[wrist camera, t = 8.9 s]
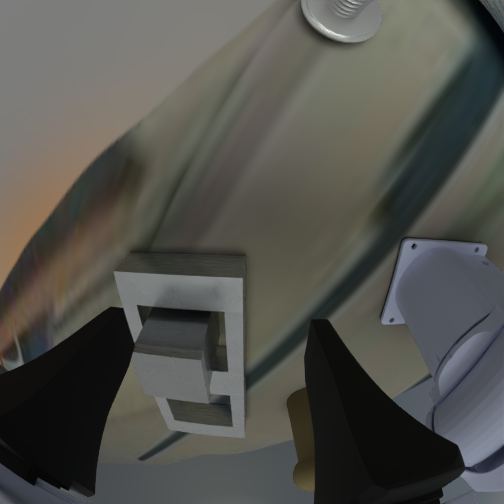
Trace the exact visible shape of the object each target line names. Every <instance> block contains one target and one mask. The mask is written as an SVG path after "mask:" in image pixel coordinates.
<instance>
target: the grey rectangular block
mask: <svg viewBox="0 0 504 504" xmlns="http://www.w3.org/2000/svg"><path fill="white" fill-rule="evenodd" d="M219 337H220V331H219V319H218V311H203V310H189V309H176V308H164V307H153V308H152V310H151V312H150V314H149V316H148V318H147V320H146V322H145V324H144V326H143V328H142V330H141V332H140V334H139V336H138V338H137V340H136V342H135V347H134V351H133V354H132V358H131V362H132V364H133V367H134V369H135V372H136V374H137V376H138V379H139V381H140V383H141V385H142V388H143V390H144V392H145V394H146V395H150V396H155V397H161V398H168V399H174V400H181V401H189V402H198V403H207V404H209V402H210V396H211V394H210V383H211V378H212V373H213V368H214V362H215V357H216V352H217V347H218V342H219Z"/></svg>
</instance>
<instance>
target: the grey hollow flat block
mask: <svg viewBox="0 0 504 504" xmlns="http://www.w3.org/2000/svg"><path fill="white" fill-rule="evenodd" d="M114 275H115V279H116V283H117V287H118V291H119V295H120V298H121V302H122V305H123V308H124V312H125V315H126V318H127V322H128V325H129V328H130V331H131V334H132V337H133V340H134V343H135V342H136V340H137V338H138V336H139V334H140V332H141V330H142V328H143V326H144V324H145V322H146V320H147V318H148V316H149V314H150V312H151V310H152V308H153V307H164V308H176V309H189V310H203V311H219V312H224V313H225V330H226V345H227V347H222V346H218V347H217V352H216V357H215V362H214V368H213V373H212V378H211V383H210V394H218V395H230V399H231V405H221V404H210V403H209V404H207V403H198V402H189V401H181V400H174V399H168V398H161V397H155V396H154V397H155V399H156V401H157V404H158V406H159V408H160V411H161V413H162V415H163V417H164V419H165V422H166V424H167V426H168V428H169V429H170V430H176V431H183V432H189V433H197V434H205V435H214V436H224V437H237V438H245V429H246V256H236V255H206V254H177V253H149V252H130V253H129V254H128V255H127V256H126V257H125V258H124V260H123V261H122V262H121V263H120V264H119V265H118V267H117V268H116V269H115V270H114Z"/></svg>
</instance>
